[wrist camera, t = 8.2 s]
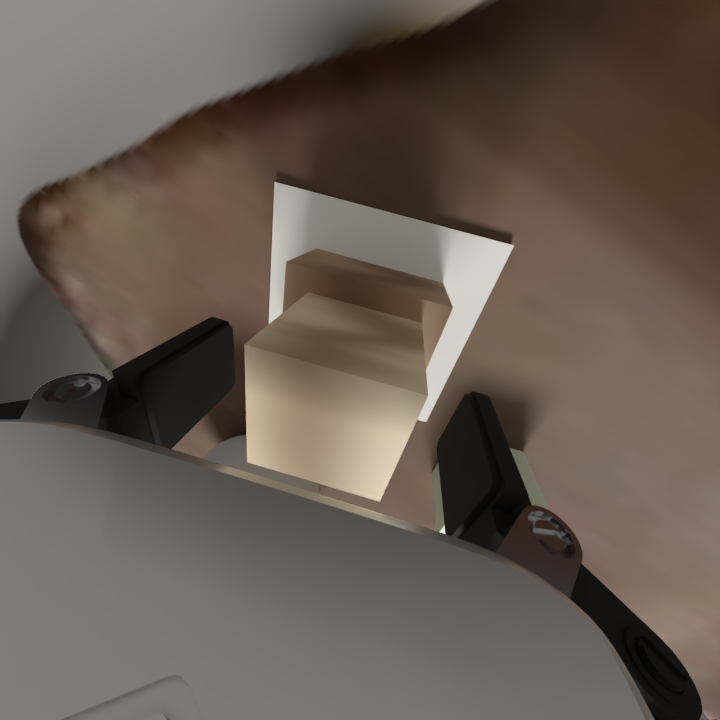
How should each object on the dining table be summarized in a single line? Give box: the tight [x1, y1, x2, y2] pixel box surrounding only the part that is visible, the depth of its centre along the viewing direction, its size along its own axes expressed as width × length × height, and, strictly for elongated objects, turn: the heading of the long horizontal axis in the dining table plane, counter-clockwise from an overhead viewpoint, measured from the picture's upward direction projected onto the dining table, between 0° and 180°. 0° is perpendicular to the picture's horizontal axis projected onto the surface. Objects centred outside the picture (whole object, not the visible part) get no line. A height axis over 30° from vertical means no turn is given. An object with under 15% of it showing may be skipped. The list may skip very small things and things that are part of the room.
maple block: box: [244, 292, 428, 502], centre depth 10 cm, size 5×5×5 cm
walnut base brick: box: [283, 248, 453, 369], centre depth 14 cm, size 7×7×4 cm
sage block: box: [432, 448, 550, 534], centre depth 19 cm, size 5×5×5 cm
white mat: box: [269, 182, 514, 422], centre depth 16 cm, size 12×12×1 cm
